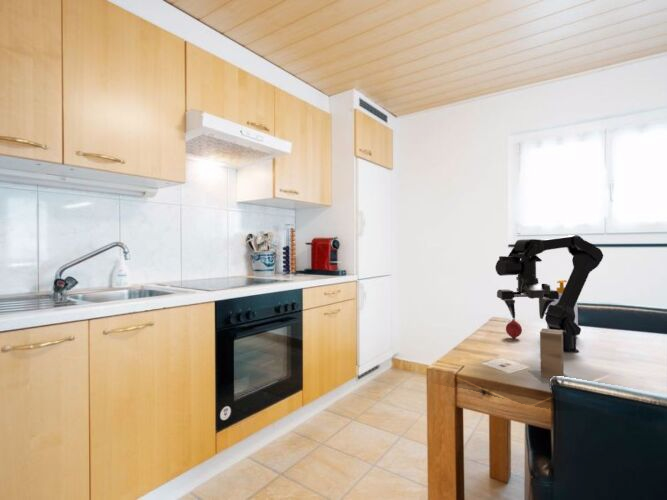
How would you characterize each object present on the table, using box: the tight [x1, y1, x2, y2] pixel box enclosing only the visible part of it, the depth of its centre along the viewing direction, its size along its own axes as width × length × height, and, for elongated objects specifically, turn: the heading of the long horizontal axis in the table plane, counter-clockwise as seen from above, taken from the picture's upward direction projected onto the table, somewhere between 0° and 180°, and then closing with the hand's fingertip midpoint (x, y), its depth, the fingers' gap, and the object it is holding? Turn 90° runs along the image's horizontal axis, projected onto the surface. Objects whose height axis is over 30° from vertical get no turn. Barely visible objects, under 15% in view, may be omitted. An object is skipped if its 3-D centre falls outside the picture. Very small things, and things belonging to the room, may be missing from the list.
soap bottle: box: [546, 279, 579, 338], centre depth 141 cm, size 9×7×23 cm
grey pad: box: [528, 369, 569, 384], centre depth 98 cm, size 9×9×1 cm
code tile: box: [480, 357, 530, 374], centre depth 108 cm, size 10×10×1 cm
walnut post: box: [539, 327, 565, 379], centre depth 98 cm, size 5×5×13 cm
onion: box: [505, 318, 523, 339], centre depth 139 cm, size 6×6×8 cm
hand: (527, 318), depth 121 cm, fingers open, 9 cm apart
